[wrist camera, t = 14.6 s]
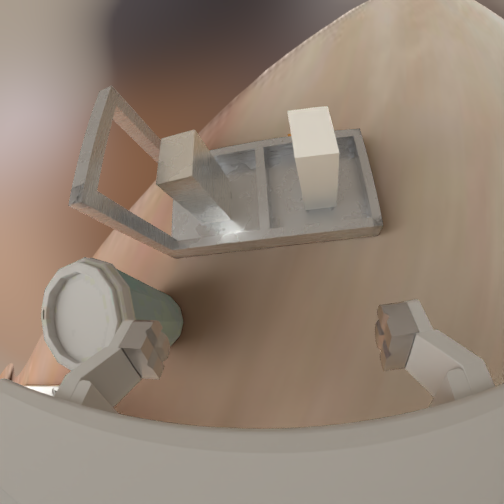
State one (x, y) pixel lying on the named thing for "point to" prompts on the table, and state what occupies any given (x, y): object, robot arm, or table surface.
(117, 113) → the rack
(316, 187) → the cream rectangular block
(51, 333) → the disposable coffee cup
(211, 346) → the table surface
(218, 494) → the robot arm
